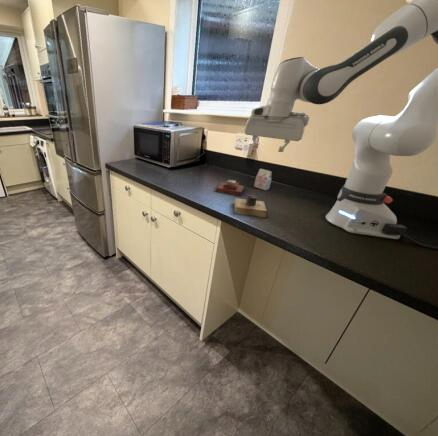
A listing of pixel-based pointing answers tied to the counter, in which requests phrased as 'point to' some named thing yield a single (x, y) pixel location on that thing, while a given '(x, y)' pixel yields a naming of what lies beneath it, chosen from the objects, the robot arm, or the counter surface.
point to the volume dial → (251, 200)
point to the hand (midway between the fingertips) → (267, 149)
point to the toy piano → (230, 188)
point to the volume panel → (250, 208)
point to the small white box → (263, 179)
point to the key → (231, 182)
